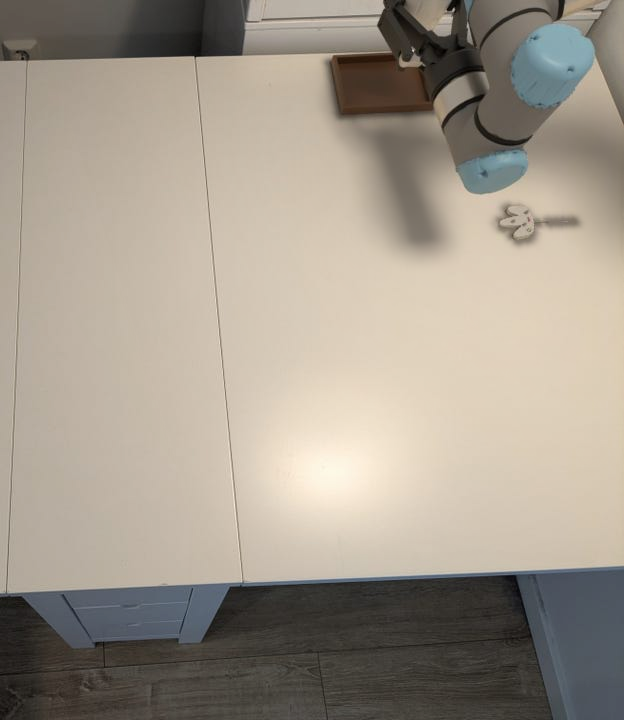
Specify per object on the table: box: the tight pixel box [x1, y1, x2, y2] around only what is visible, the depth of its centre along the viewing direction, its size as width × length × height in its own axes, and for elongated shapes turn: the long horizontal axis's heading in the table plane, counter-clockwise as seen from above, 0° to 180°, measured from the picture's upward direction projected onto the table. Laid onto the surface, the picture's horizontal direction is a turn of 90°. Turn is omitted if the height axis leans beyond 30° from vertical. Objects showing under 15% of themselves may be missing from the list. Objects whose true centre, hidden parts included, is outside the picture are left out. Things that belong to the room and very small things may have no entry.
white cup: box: [403, 0, 452, 48], centre depth 84 cm, size 8×8×10 cm
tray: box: [330, 51, 434, 116], centre depth 99 cm, size 12×16×2 cm
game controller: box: [498, 205, 569, 240], centre depth 90 cm, size 6×12×3 cm, turn 109°
